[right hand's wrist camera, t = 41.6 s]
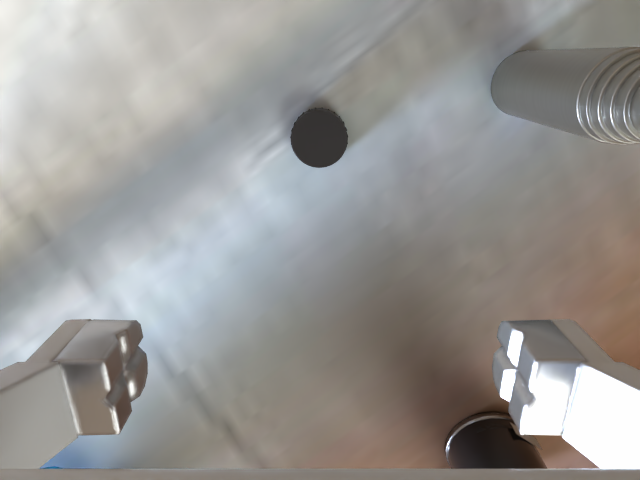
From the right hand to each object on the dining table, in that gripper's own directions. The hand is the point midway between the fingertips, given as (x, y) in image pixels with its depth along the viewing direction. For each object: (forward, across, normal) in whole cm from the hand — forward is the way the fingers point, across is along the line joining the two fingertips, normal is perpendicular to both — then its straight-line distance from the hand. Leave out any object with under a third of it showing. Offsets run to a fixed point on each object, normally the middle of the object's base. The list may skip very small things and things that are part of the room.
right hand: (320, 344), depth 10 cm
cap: (+28, 0, 0) cm, 28 cm away
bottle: (+30, +16, +4) cm, 34 cm away
